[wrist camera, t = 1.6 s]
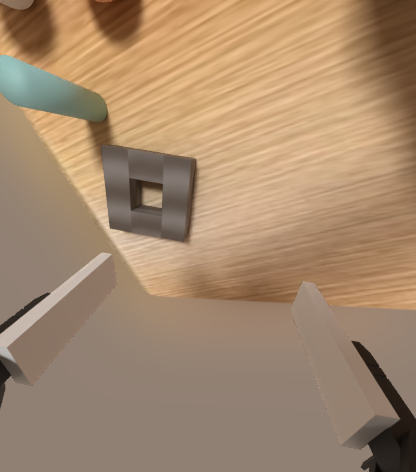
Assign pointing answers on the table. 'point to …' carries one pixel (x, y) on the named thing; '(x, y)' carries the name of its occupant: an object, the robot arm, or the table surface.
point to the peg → (48, 91)
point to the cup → (17, 3)
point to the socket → (129, 192)
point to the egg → (104, 0)
